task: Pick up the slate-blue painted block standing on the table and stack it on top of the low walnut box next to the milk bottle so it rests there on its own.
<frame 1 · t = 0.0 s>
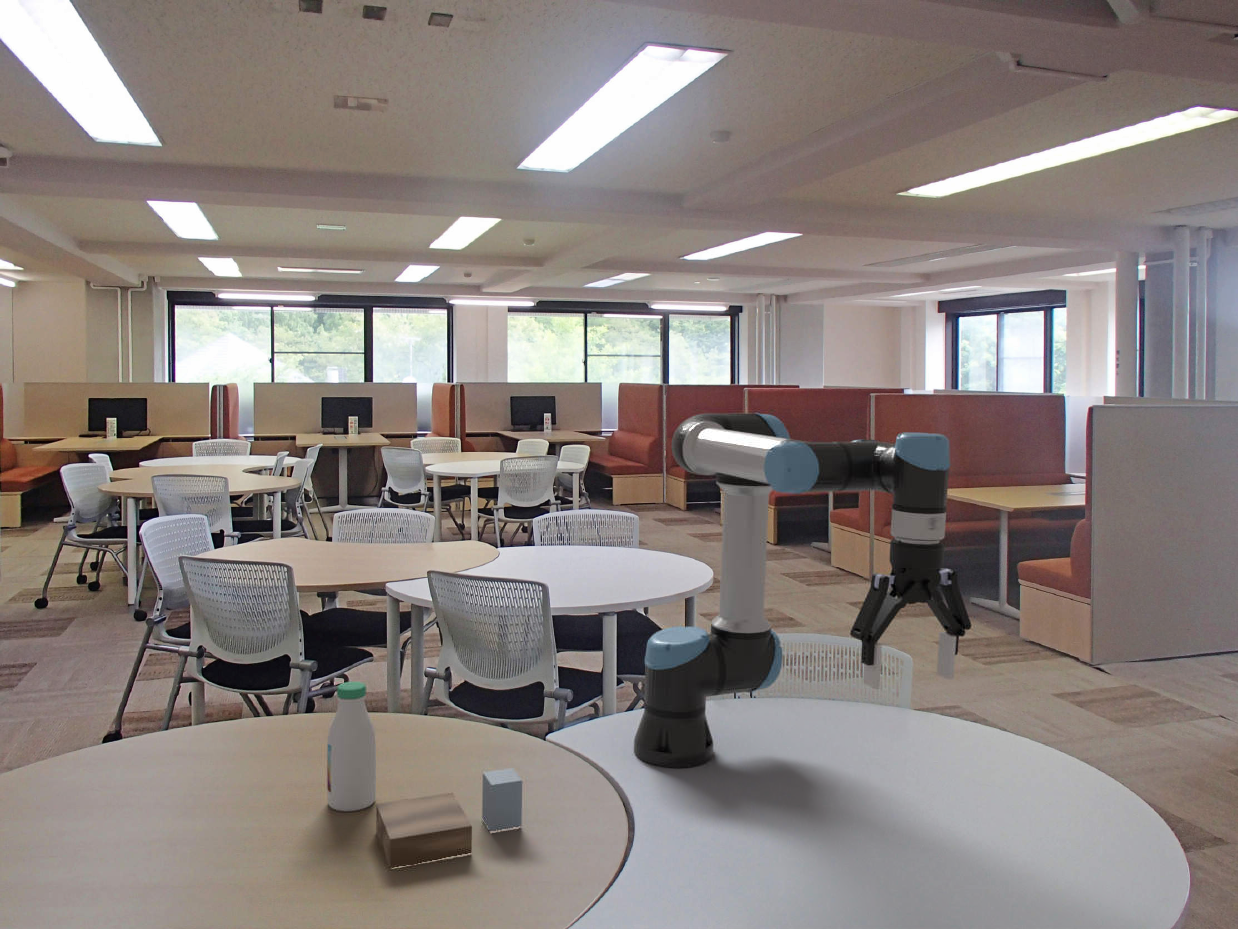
hand: (908, 681, 145), 28 cm above the table, tool pointing down, fingers open, 13 cm apart
block: (501, 824, 157), on the table
walnut box: (422, 846, 150), on the table
milk bottle: (351, 803, 163), on the table
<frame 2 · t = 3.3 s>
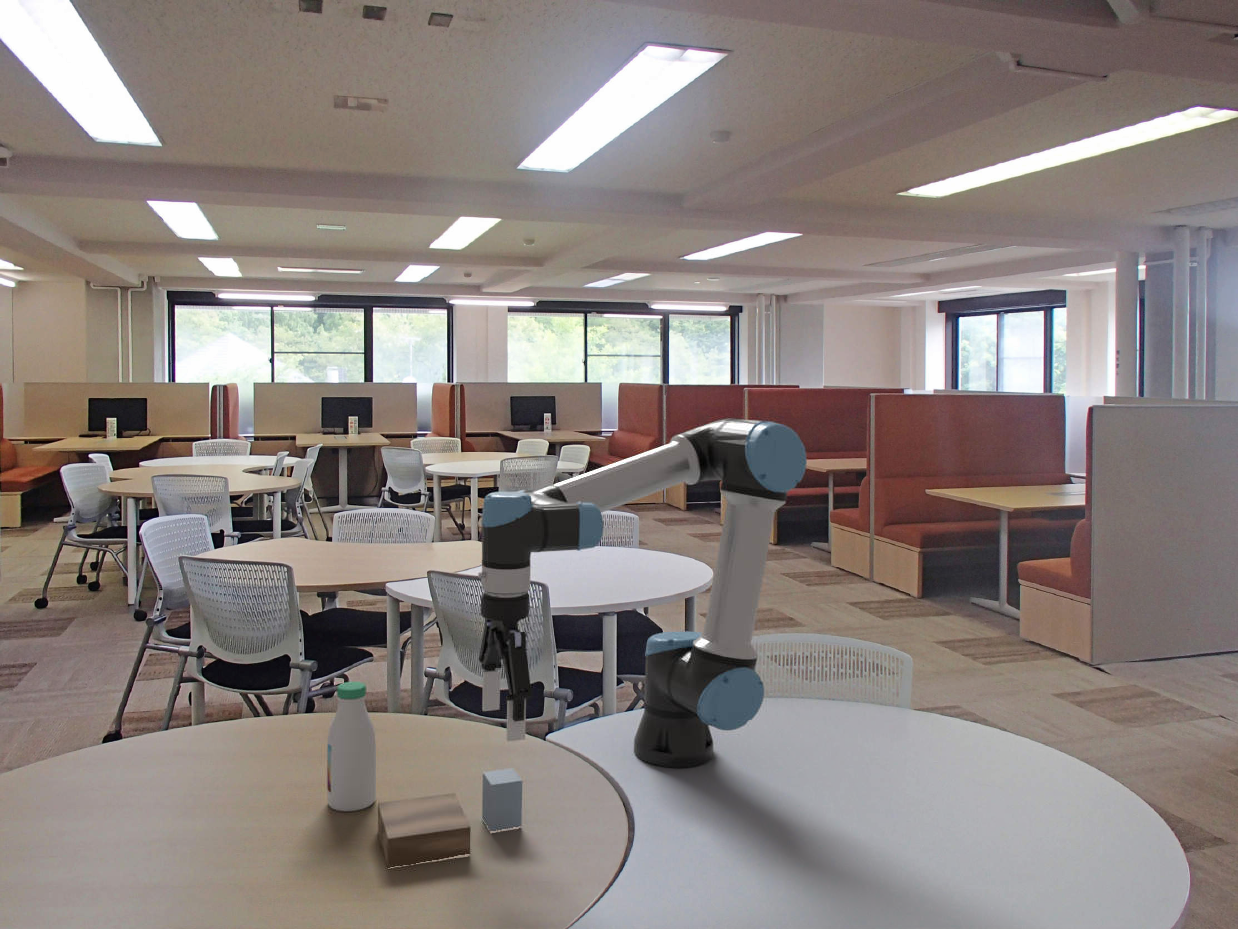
hand: (502, 724, 155), 16 cm above the table, tool pointing down, fingers open, 13 cm apart
nothing on the table moved.
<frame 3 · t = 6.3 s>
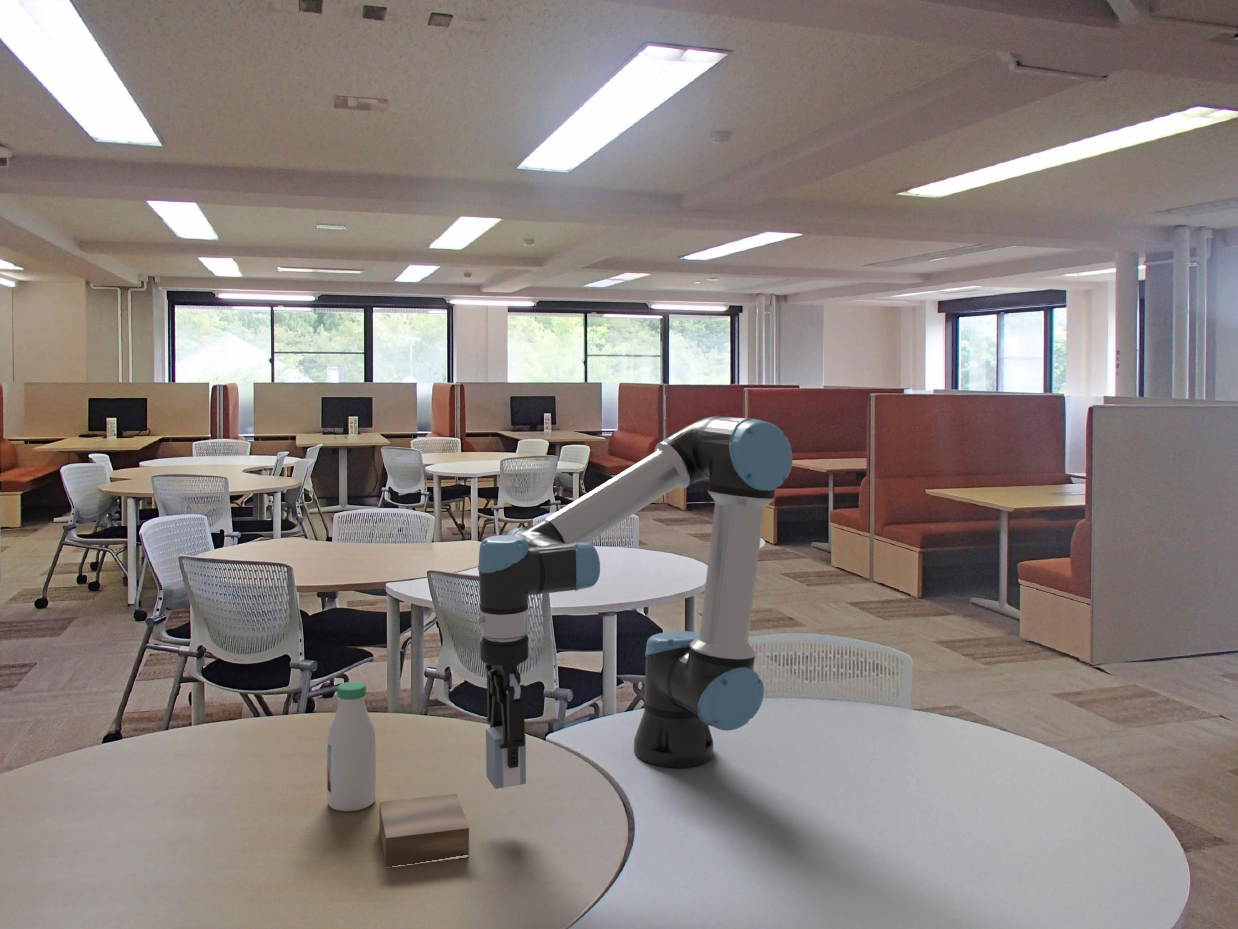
hand: (506, 777, 156), 8 cm above the table, tool pointing down, fingers closed on block, 5 cm apart
block: (506, 780, 156), point 7 cm above the table, touching gripper
everything else where it was.
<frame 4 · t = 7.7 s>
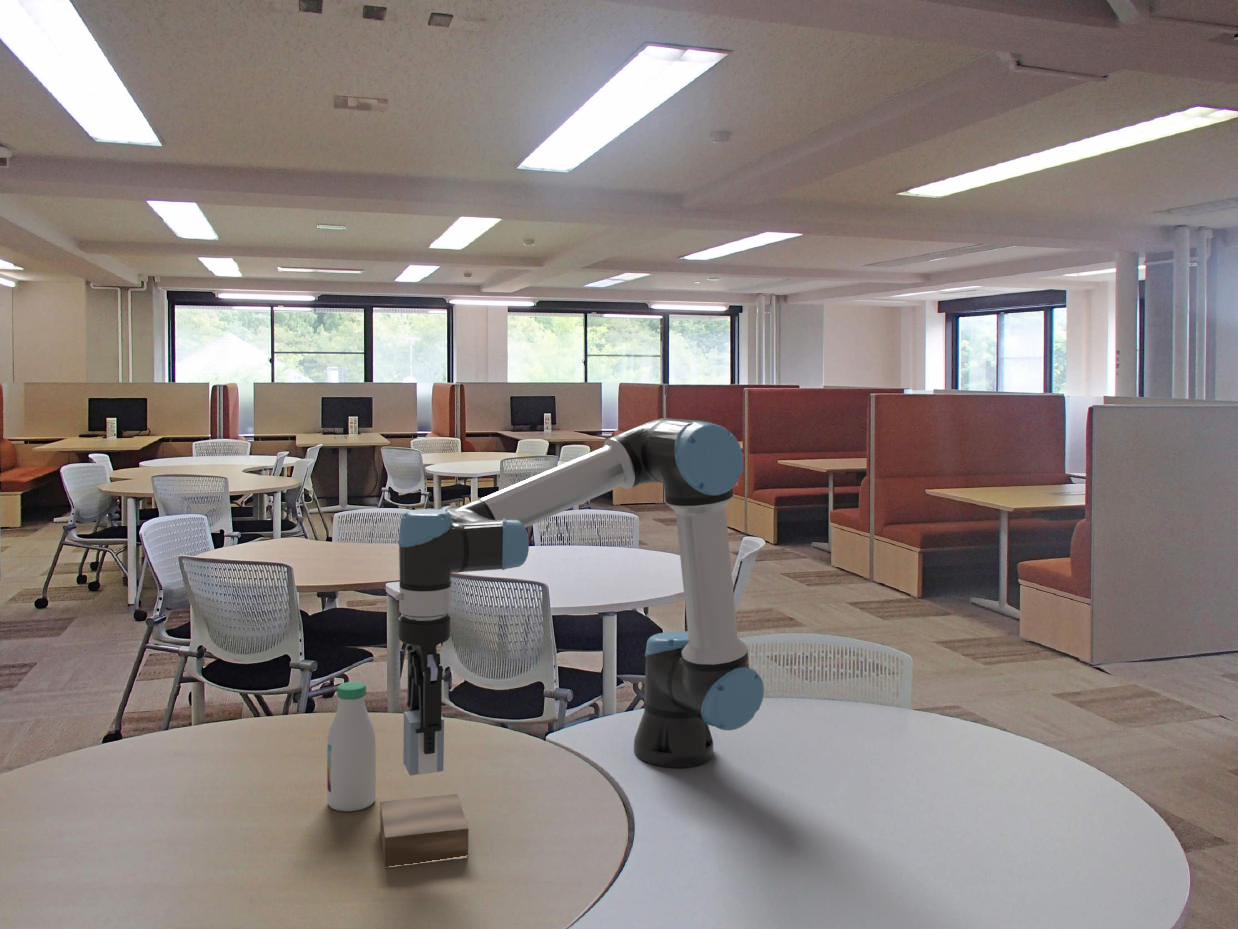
hand: (423, 764, 148), 13 cm above the table, tool pointing down, fingers closed on block, 5 cm apart
block: (423, 766, 149), point 12 cm above the table, touching gripper
everything else where it was.
when the fingers open (6 cm above the table, at t = 9.1 s): block stays where it is, point 5 cm above the table.
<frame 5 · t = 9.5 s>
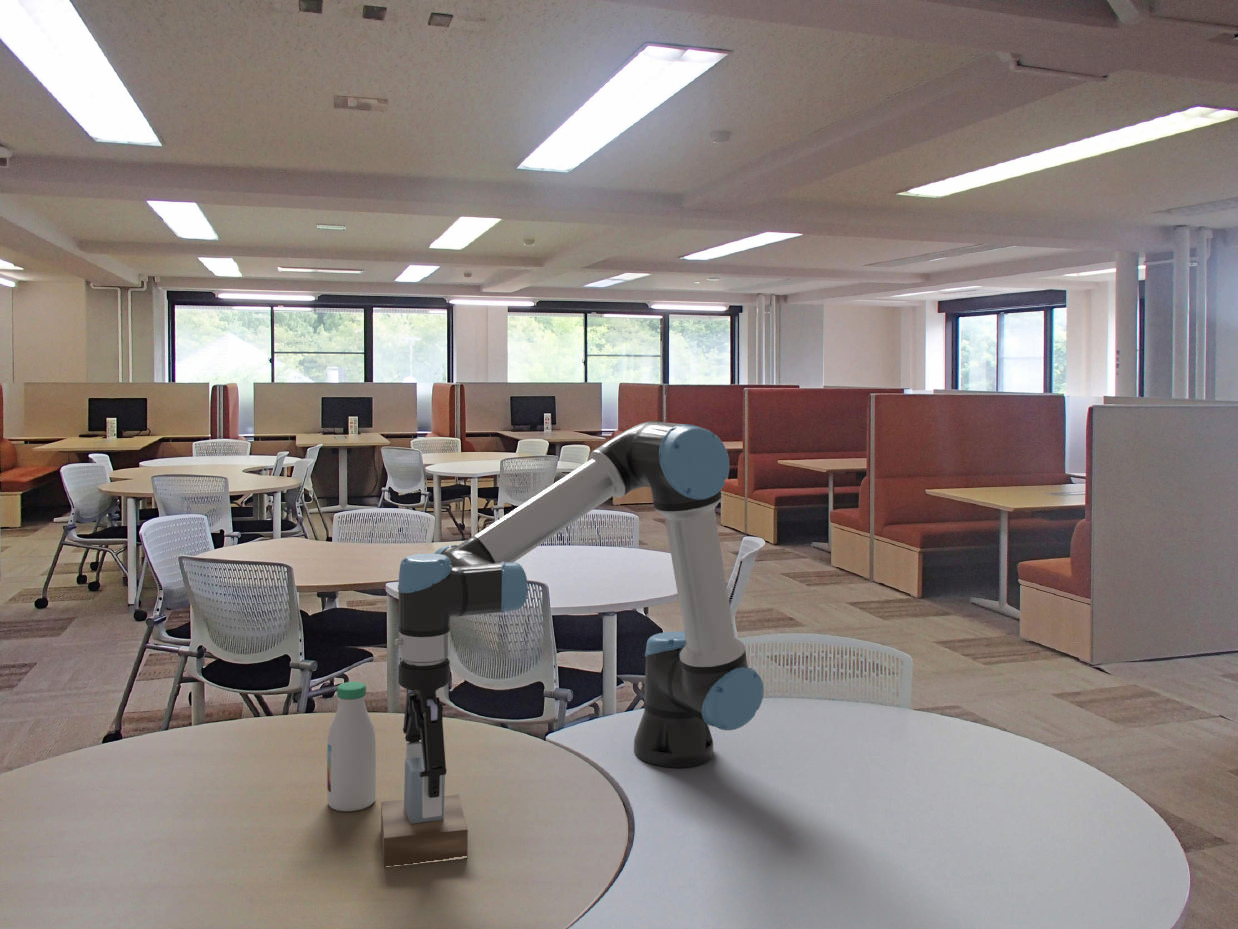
hand: (423, 799, 149), 7 cm above the table, tool pointing down, fingers open, 11 cm apart
block: (423, 814, 149), point 5 cm above the table
everything else where it was.
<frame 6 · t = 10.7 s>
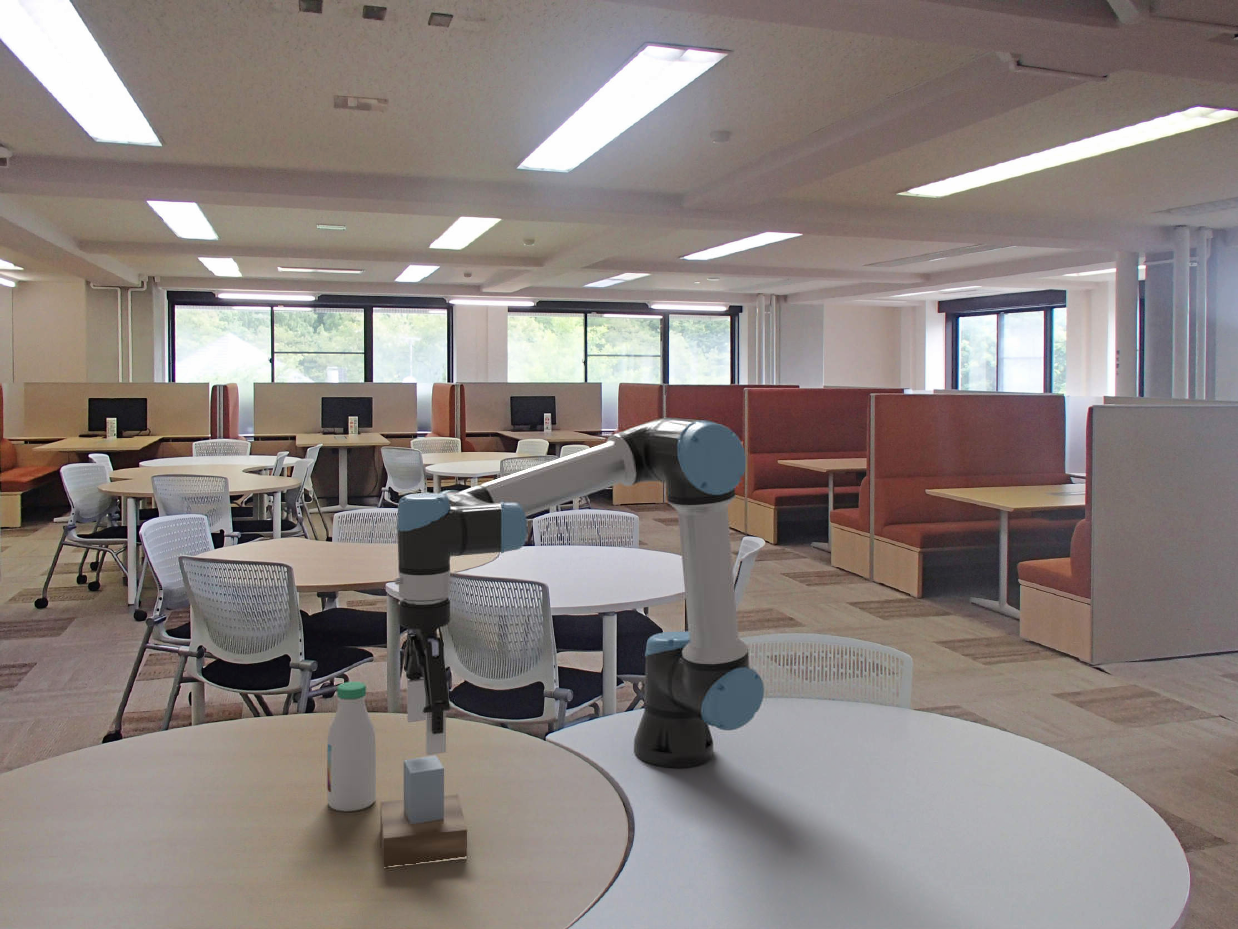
hand: (426, 736, 148), 17 cm above the table, tool pointing down, fingers open, 13 cm apart
nothing on the table moved.
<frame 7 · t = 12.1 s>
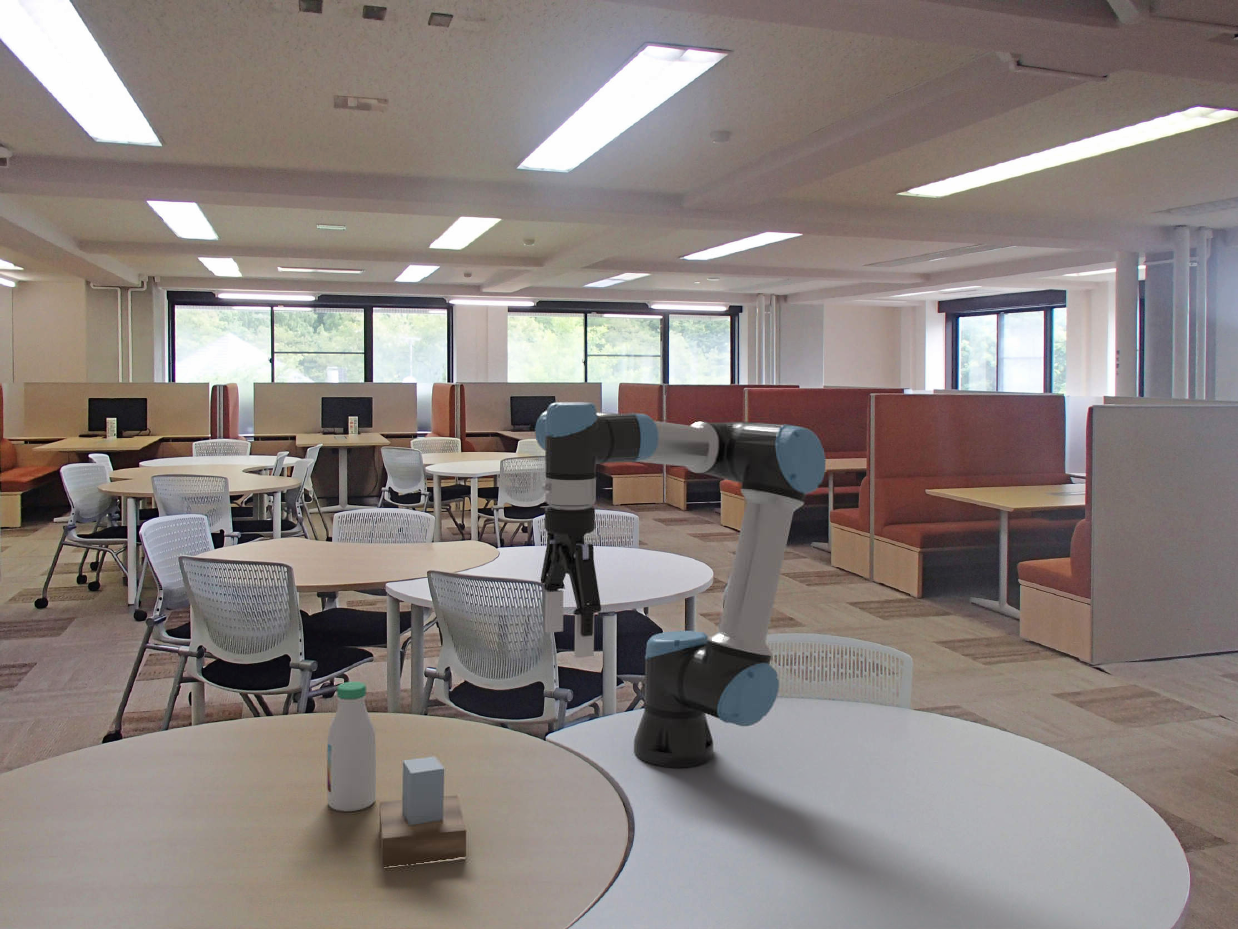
hand: (568, 643, 150), 31 cm above the table, tool pointing down, fingers open, 13 cm apart
nothing on the table moved.
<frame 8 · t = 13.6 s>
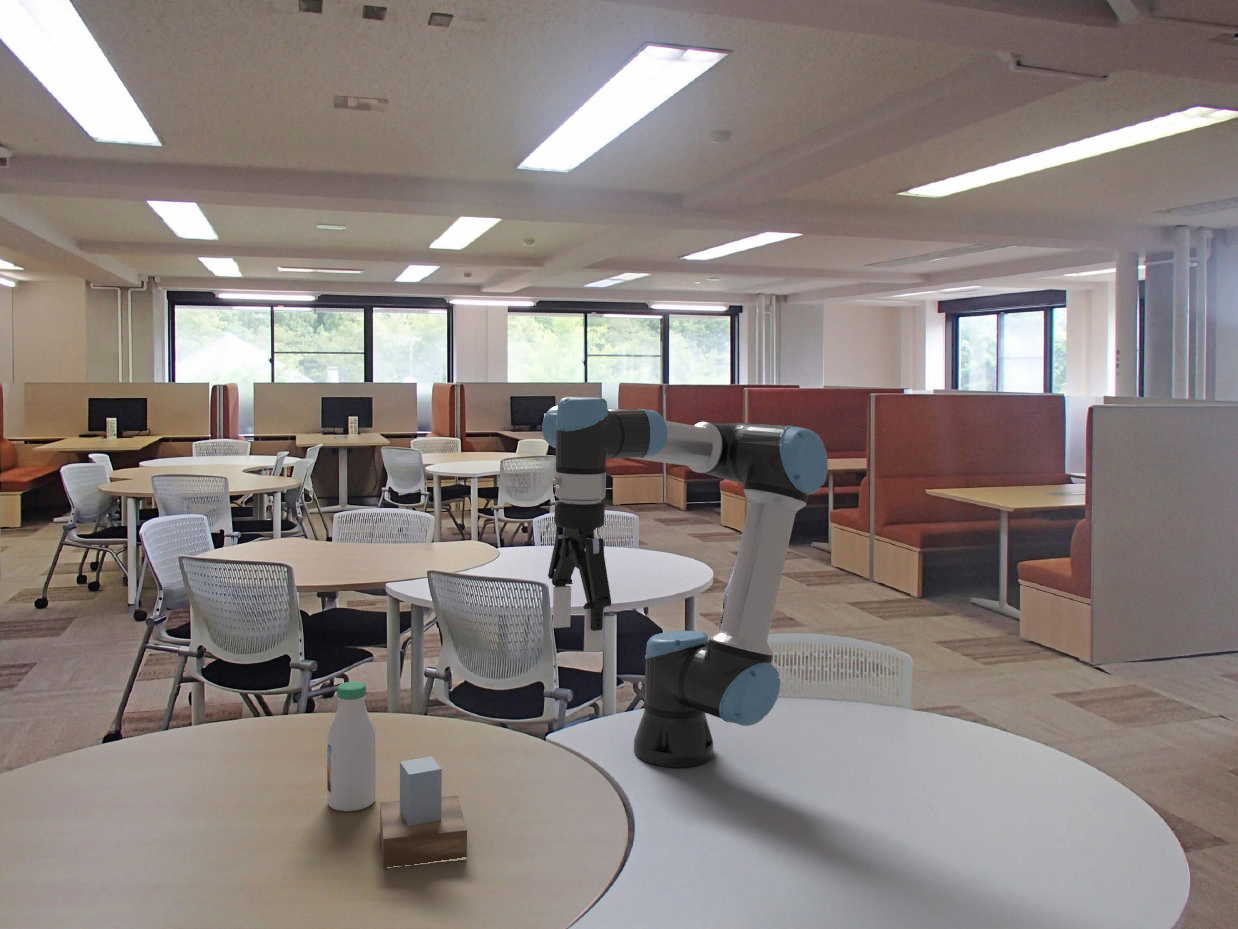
hand: (576, 638, 150), 32 cm above the table, tool pointing down, fingers open, 13 cm apart
block: (420, 815, 149), point 5 cm above the table, touching walnut box
walnut box: (422, 847, 149), on the table, touching block
everything else where it was.
at the end: block inside the target area on the walnut box (0.3 cm from its centre), point 5.0 cm above the walnut box's base; block tilted 1°; the gripper is holding nothing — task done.
